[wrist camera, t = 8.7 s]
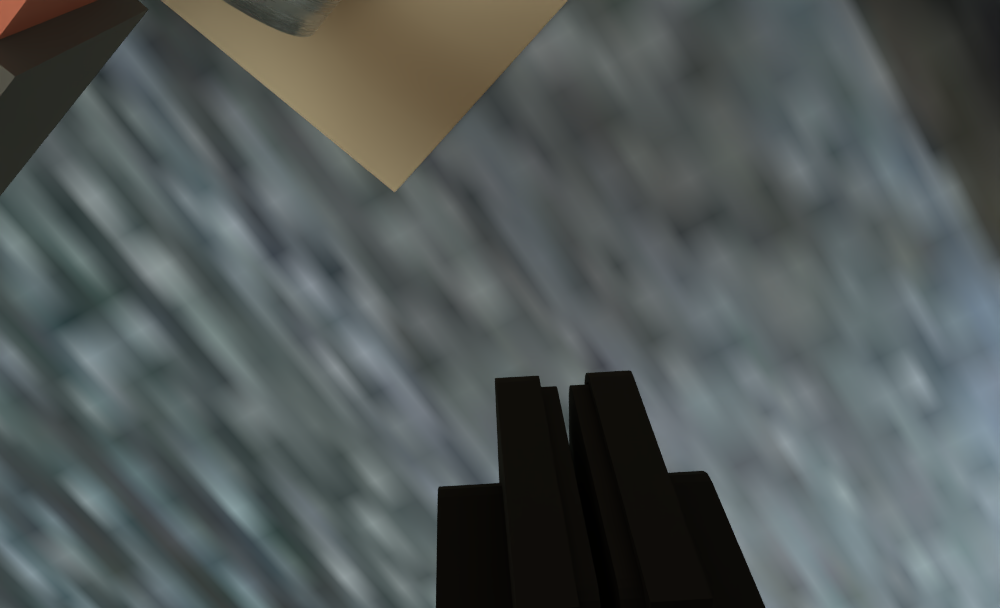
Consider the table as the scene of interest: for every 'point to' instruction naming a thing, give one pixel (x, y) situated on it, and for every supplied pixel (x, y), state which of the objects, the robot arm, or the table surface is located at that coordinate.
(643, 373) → the table surface
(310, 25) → the pipe valve
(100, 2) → the valve lever
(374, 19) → the mounting board
